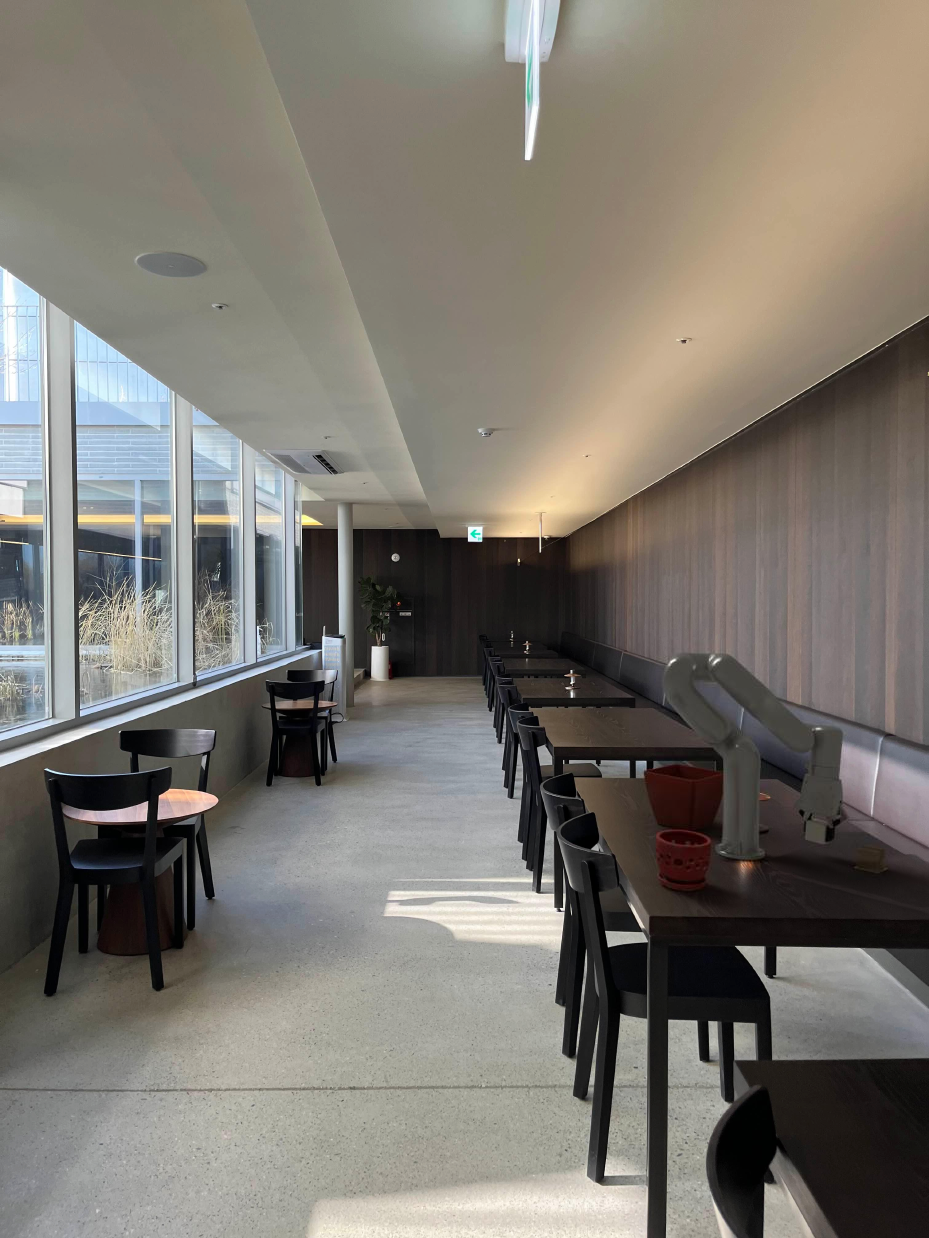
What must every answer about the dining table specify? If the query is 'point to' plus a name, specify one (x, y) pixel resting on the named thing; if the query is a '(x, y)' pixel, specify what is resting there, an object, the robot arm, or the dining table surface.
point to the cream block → (816, 831)
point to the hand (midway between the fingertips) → (818, 837)
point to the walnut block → (871, 858)
